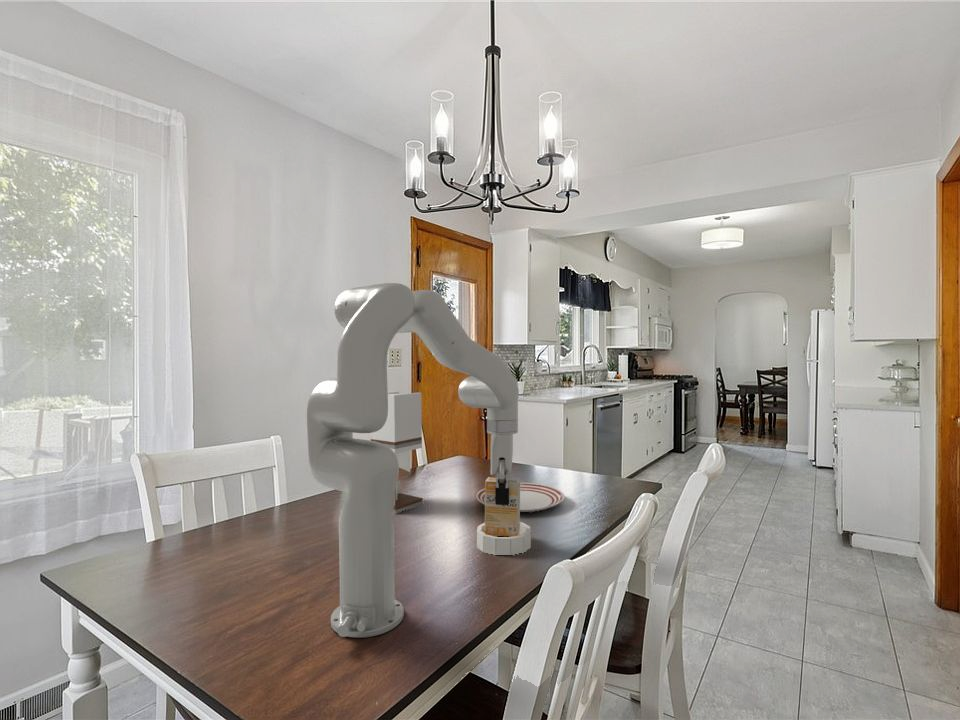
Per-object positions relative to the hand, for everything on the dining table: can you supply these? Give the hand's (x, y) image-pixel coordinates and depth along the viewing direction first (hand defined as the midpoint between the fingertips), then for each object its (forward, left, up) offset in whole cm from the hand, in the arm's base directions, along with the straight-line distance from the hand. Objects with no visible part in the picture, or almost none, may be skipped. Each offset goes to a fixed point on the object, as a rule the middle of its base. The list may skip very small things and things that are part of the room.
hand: (502, 500), depth 123 cm
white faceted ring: (0, 0, -11) cm, 11 cm away
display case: (+31, +33, -11) cm, 47 cm away
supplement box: (0, 0, -8) cm, 8 cm away
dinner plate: (+35, -5, -12) cm, 37 cm away
